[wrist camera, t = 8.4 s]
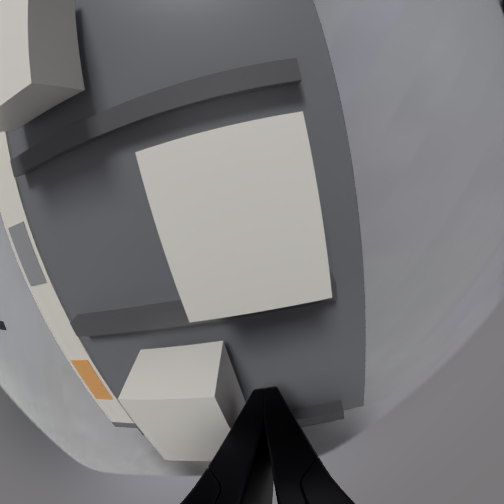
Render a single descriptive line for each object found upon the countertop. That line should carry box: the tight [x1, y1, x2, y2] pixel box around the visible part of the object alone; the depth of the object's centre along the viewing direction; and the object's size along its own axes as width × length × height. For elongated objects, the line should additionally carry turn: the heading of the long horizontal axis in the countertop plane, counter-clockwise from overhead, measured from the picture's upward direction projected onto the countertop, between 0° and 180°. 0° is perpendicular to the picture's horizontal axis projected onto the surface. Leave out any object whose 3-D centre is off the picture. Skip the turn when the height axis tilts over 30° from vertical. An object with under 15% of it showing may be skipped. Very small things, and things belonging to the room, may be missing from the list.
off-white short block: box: [118, 341, 246, 461], centre depth 9 cm, size 3×4×2 cm
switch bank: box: [0, 0, 365, 435], centre depth 8 cm, size 12×25×3 cm, turn 12°
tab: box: [0, 0, 85, 132], centre depth 5 cm, size 3×4×2 cm
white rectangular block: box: [135, 111, 332, 322], centre depth 7 cm, size 3×4×2 cm
